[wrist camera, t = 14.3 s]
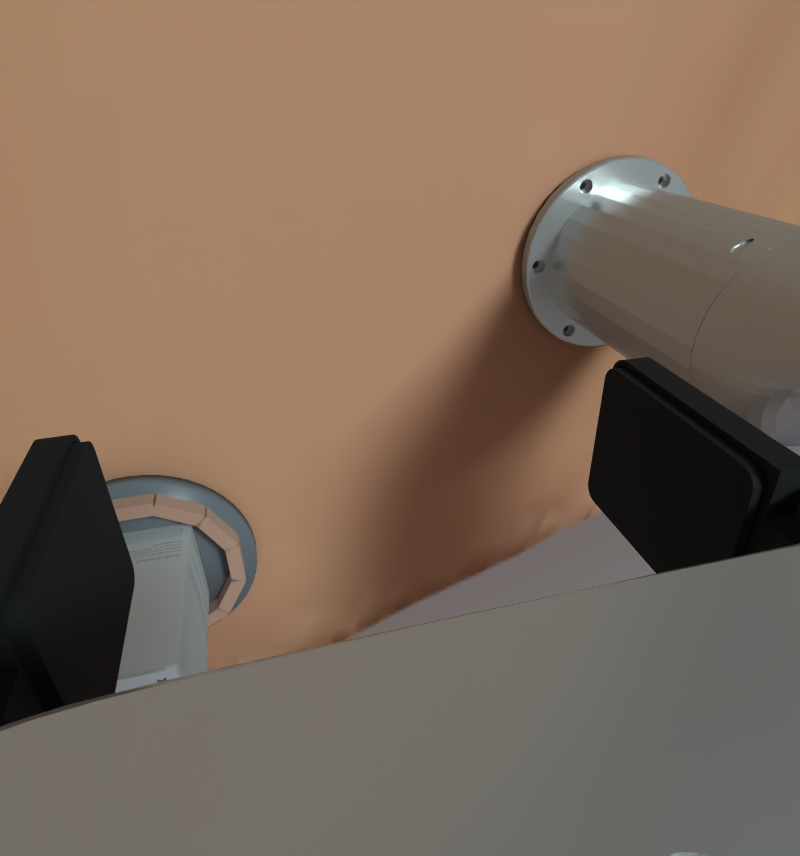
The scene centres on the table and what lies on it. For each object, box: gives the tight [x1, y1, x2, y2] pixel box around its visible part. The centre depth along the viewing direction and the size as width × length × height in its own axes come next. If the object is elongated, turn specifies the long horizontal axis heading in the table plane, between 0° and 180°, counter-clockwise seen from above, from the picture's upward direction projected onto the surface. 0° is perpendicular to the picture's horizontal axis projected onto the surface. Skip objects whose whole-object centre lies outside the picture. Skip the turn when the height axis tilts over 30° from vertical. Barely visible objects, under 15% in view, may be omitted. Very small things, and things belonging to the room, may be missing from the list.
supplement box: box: [115, 523, 209, 693], centre depth 39 cm, size 7×7×13 cm
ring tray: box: [106, 475, 257, 628], centre depth 44 cm, size 15×15×2 cm
